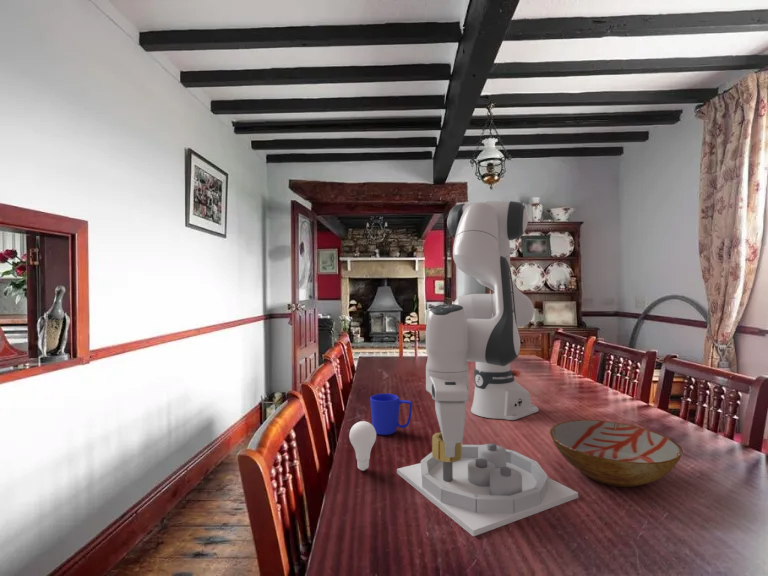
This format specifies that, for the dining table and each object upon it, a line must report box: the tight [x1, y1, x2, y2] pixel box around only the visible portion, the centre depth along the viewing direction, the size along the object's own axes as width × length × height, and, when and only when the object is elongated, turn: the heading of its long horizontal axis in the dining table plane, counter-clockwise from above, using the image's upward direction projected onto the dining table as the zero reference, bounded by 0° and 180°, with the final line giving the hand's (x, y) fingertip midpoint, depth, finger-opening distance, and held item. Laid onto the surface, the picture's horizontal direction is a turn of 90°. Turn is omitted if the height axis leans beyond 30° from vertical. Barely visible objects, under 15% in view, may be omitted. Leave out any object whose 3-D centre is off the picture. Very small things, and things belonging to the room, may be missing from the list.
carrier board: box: [396, 442, 579, 537], centre depth 85 cm, size 26×26×6 cm
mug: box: [369, 393, 413, 436], centre depth 116 cm, size 8×12×10 cm
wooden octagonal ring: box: [431, 431, 463, 462], centre depth 85 cm, size 6×6×4 cm
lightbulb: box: [348, 420, 377, 472], centre depth 92 cm, size 6×6×11 cm
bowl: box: [549, 419, 684, 488], centre depth 89 cm, size 25×25×8 cm
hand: (447, 448), depth 85 cm, fingers closed on wooden octagonal ring, 6 cm apart
